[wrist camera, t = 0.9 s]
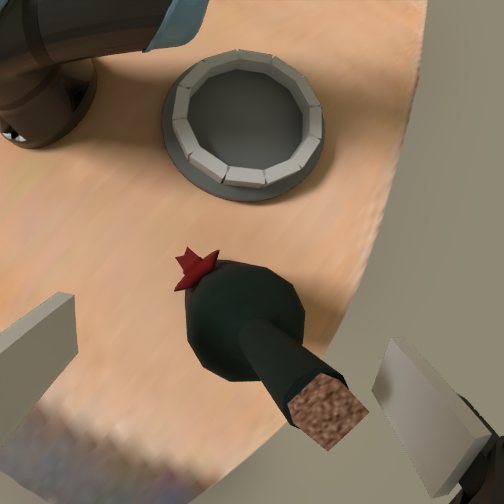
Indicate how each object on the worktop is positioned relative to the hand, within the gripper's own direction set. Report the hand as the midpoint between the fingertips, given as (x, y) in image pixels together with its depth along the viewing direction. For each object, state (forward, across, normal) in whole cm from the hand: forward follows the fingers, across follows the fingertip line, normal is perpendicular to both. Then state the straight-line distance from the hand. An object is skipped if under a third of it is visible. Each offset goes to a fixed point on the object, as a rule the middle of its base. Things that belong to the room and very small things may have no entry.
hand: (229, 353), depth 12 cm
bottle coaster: (+29, -1, +14) cm, 32 cm away
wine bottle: (+25, -2, -6) cm, 25 cm away
